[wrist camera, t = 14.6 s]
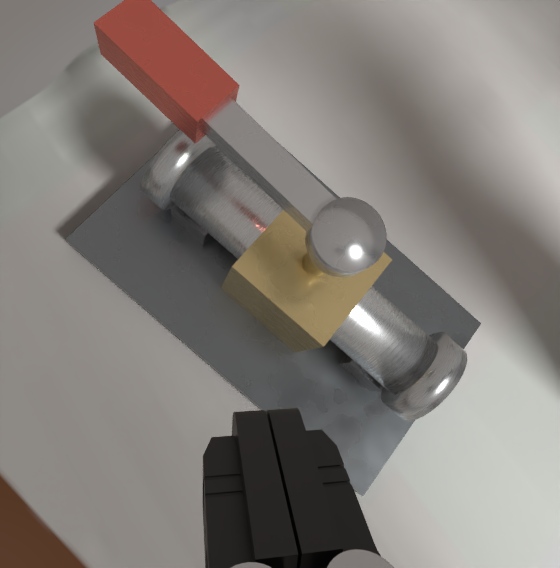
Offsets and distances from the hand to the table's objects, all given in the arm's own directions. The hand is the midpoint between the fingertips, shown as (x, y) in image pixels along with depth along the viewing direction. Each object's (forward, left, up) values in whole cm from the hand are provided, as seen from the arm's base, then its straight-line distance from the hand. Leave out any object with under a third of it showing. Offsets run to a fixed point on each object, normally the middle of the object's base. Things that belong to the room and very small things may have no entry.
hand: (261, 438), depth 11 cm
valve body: (-6, -8, -23) cm, 26 cm away
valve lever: (-2, -12, -11) cm, 17 cm away
